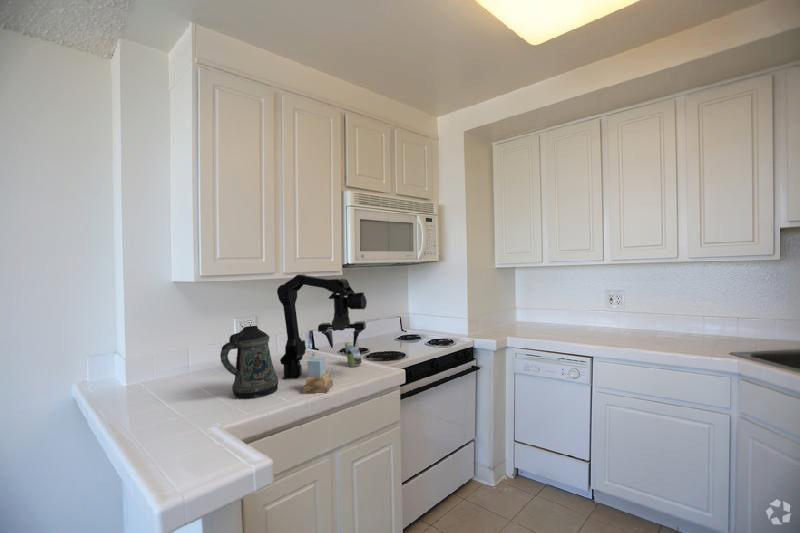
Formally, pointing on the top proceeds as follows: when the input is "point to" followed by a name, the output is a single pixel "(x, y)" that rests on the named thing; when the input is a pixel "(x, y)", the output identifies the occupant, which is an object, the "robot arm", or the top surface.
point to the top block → (318, 381)
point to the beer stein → (250, 364)
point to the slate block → (316, 367)
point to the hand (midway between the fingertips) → (343, 347)
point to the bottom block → (318, 388)
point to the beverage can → (352, 353)
